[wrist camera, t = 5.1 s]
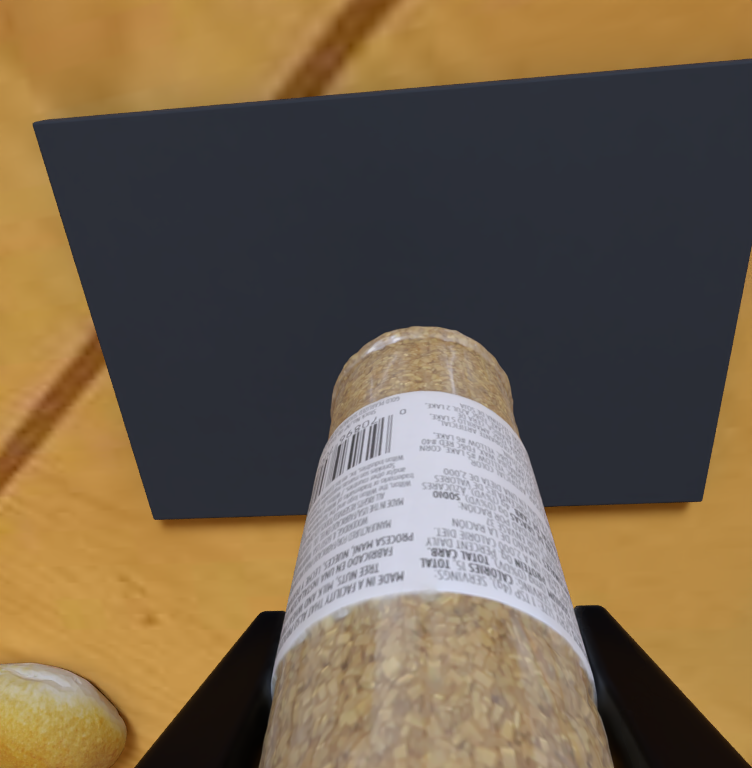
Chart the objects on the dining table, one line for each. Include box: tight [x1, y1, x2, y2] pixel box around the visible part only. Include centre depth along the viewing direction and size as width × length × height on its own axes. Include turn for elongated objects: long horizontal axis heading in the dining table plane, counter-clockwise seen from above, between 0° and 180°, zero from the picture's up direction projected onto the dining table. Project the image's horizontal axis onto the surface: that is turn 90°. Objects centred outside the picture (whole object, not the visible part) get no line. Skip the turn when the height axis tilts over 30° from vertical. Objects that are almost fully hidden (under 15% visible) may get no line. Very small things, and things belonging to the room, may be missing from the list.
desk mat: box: [33, 59, 752, 520], centre depth 20 cm, size 14×20×1 cm
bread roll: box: [0, 663, 127, 768], centre depth 29 cm, size 8×9×4 cm
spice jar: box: [259, 326, 614, 768], centre depth 10 cm, size 5×5×13 cm
